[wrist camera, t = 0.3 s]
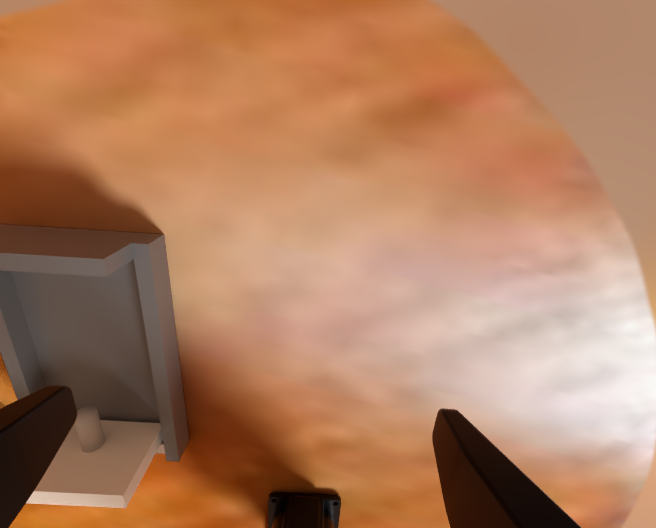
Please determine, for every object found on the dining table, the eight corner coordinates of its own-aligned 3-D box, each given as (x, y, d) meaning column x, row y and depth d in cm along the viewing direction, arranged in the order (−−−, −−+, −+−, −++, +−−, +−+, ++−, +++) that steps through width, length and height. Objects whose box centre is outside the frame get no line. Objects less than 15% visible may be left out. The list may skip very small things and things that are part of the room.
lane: (189, 439, 28) (164, 494, 24) (56, 432, 28) (7, 487, 24) (164, 234, 22) (122, 260, 17) (-11, 223, 21) (-96, 246, 17)
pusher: (165, 434, 27) (125, 508, 22) (61, 429, 27) (-4, 501, 22) (159, 394, 25) (115, 463, 20) (48, 388, 25) (-25, 456, 20)
